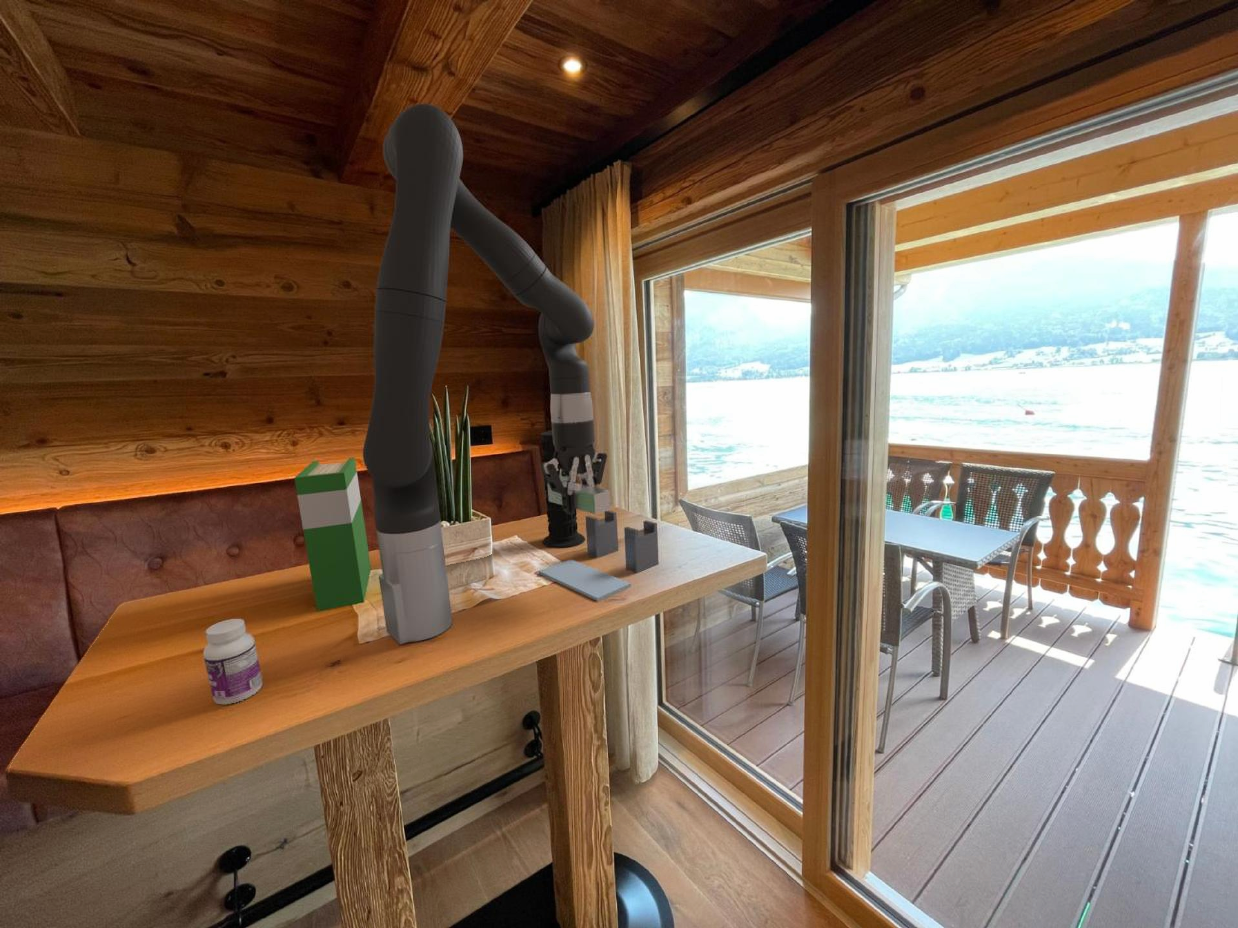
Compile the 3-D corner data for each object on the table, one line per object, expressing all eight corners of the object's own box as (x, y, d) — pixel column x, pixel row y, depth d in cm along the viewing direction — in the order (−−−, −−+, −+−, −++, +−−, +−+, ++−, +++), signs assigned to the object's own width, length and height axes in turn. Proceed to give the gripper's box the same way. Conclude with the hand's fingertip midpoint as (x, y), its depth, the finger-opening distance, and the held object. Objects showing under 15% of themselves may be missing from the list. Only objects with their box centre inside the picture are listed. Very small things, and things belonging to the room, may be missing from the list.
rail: (595, 514, 89) (594, 494, 88) (548, 501, 99) (547, 483, 98) (610, 509, 91) (609, 490, 90) (563, 497, 101) (562, 480, 101)
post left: (596, 558, 109) (594, 519, 107) (587, 554, 111) (585, 516, 109) (618, 550, 113) (616, 512, 111) (609, 547, 115) (607, 509, 113)
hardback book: (331, 575, 106) (313, 461, 102) (371, 568, 109) (354, 457, 104) (317, 611, 90) (294, 477, 86) (363, 602, 93) (344, 472, 88)
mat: (597, 601, 89) (597, 597, 89) (538, 573, 102) (538, 570, 102) (630, 586, 94) (630, 583, 94) (571, 561, 107) (570, 559, 107)
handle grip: (552, 532, 127) (534, 546, 117) (544, 426, 122) (525, 431, 112) (591, 534, 124) (575, 549, 114) (584, 425, 119) (567, 431, 109)
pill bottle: (206, 697, 67) (191, 629, 65) (252, 676, 71) (239, 612, 69) (223, 711, 64) (207, 640, 62) (270, 688, 68) (257, 621, 66)
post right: (636, 573, 100) (634, 530, 98) (626, 569, 102) (624, 527, 100) (658, 563, 104) (657, 523, 102) (647, 560, 106) (646, 520, 104)
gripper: (552, 424, 85) (559, 524, 88) (615, 415, 94) (620, 506, 97) (527, 422, 90) (535, 516, 93) (589, 413, 99) (595, 499, 103)
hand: (578, 510), depth 95 cm, fingers closed on rail, 3 cm apart
